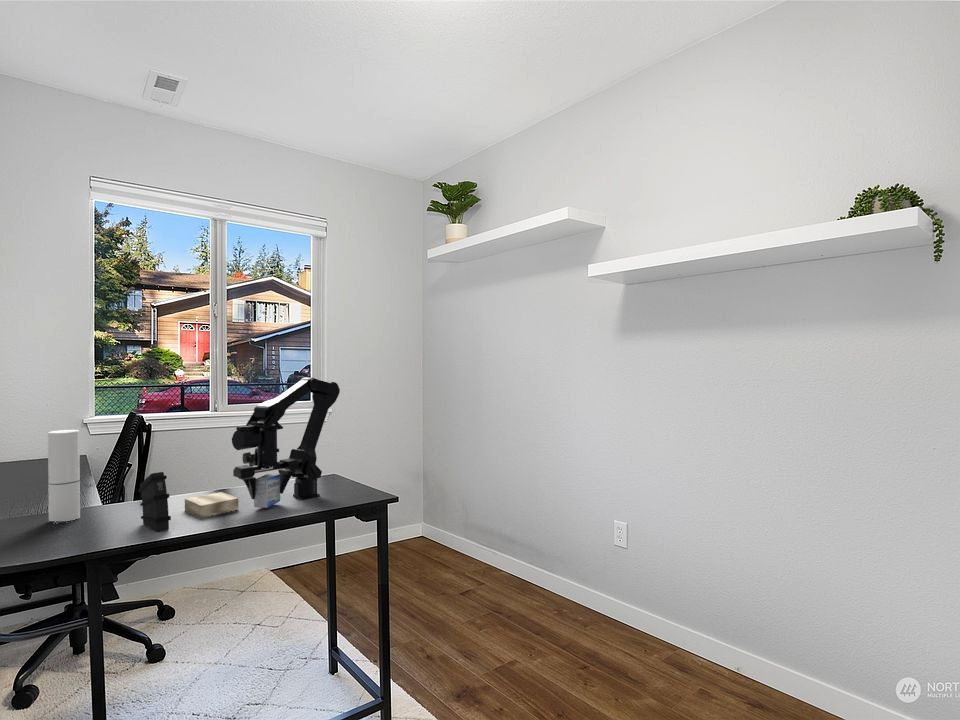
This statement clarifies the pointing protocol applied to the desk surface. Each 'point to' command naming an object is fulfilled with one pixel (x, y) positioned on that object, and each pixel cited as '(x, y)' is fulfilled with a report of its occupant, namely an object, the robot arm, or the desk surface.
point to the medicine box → (267, 490)
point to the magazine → (155, 502)
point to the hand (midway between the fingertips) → (267, 496)
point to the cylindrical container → (64, 475)
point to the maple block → (211, 504)
